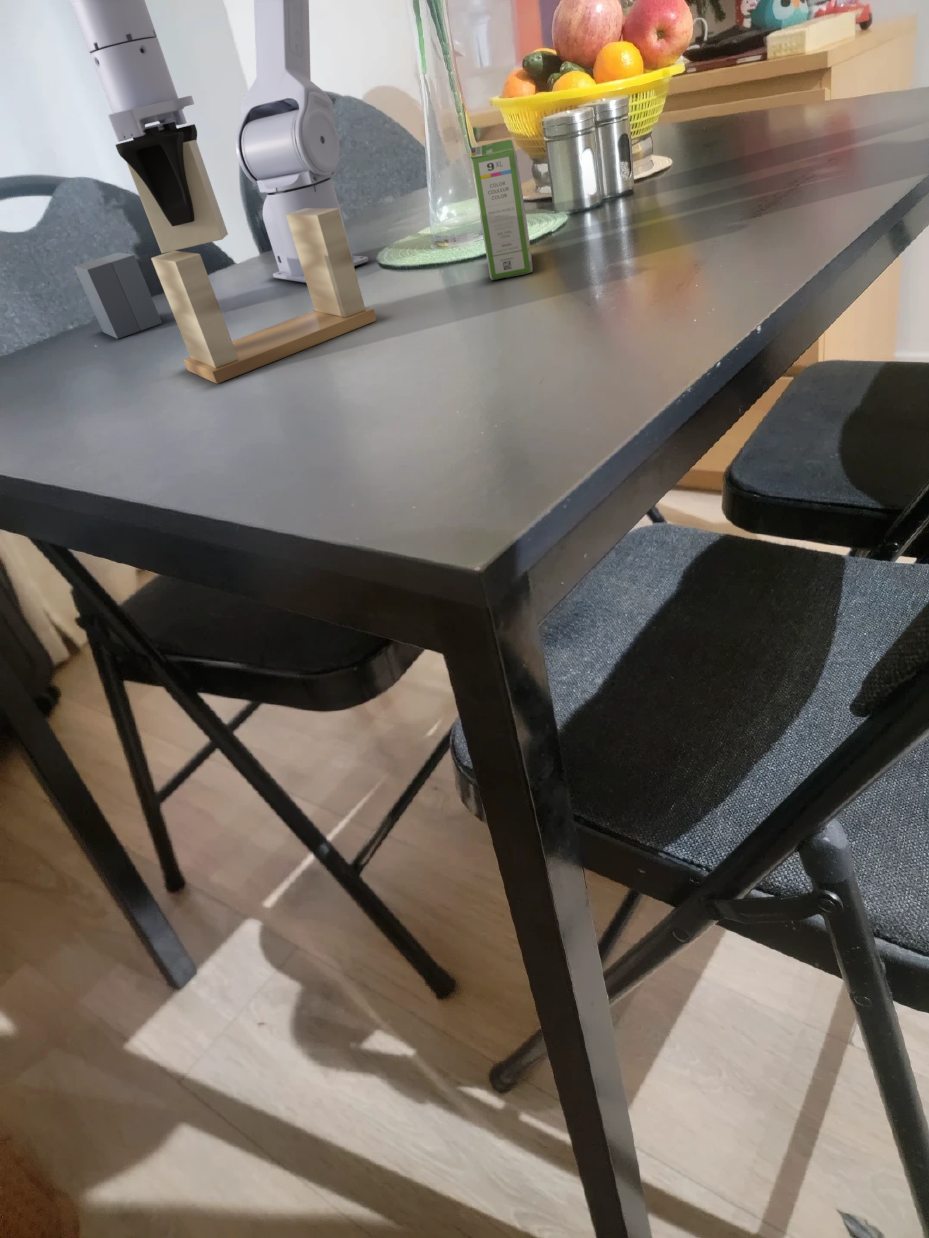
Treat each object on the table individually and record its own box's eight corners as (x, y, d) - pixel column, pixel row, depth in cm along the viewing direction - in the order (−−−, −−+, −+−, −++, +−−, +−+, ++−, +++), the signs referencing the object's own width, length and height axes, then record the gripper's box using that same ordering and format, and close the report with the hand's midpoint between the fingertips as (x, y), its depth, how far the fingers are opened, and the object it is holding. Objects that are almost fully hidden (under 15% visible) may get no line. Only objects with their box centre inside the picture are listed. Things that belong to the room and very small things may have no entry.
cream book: (161, 253, 77) (124, 158, 72) (168, 248, 79) (133, 155, 74) (222, 239, 76) (188, 142, 72) (228, 234, 78) (196, 139, 74)
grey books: (103, 332, 90) (73, 266, 86) (146, 317, 92) (118, 252, 88) (117, 339, 86) (86, 269, 82) (162, 323, 88) (134, 254, 84)
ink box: (535, 273, 72) (508, 96, 65) (490, 282, 73) (458, 108, 65) (531, 255, 78) (506, 91, 70) (490, 264, 78) (461, 102, 71)
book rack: (187, 371, 70) (142, 259, 64) (339, 312, 75) (308, 206, 70) (217, 384, 64) (170, 264, 59) (376, 320, 70) (347, 206, 65)
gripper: (143, 33, 62) (210, 224, 70) (191, 35, 74) (244, 199, 82) (56, 55, 63) (132, 243, 71) (118, 55, 75) (177, 215, 83)
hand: (187, 221), depth 76 cm, fingers closed on cream book, 2 cm apart
